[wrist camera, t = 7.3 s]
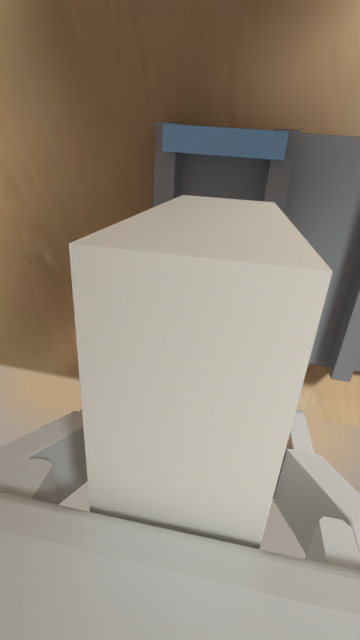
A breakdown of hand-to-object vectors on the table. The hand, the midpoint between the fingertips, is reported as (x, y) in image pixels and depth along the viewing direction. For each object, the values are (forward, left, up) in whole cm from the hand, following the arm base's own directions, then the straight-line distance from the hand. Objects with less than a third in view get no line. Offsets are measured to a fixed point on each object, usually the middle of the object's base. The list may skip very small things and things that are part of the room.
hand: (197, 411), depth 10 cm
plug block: (0, 0, -4) cm, 4 cm away
